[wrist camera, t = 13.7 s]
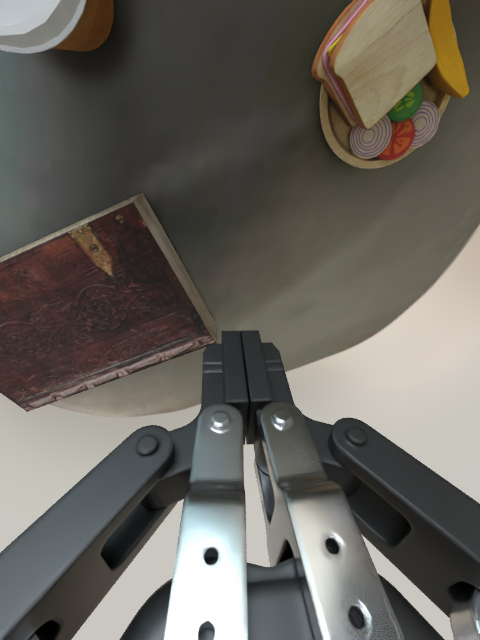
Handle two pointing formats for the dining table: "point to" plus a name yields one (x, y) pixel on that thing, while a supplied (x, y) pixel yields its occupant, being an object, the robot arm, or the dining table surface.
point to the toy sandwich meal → (387, 78)
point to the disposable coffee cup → (54, 24)
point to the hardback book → (95, 306)
